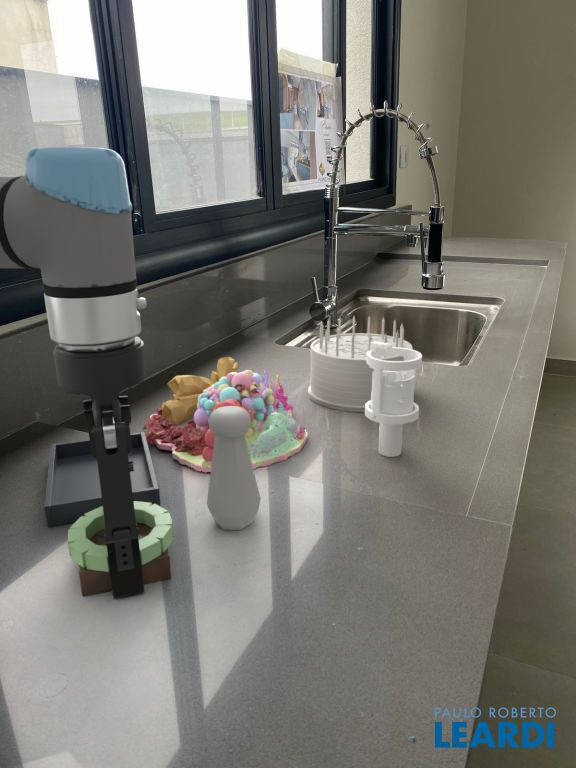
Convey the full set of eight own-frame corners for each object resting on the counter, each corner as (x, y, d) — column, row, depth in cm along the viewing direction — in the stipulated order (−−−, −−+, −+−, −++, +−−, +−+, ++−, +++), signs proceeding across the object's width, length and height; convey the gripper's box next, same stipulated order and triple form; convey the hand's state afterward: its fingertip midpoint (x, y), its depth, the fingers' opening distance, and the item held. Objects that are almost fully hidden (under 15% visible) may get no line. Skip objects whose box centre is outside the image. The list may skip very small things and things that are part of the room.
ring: (69, 580, 53) (66, 565, 52) (70, 524, 61) (68, 510, 61) (179, 559, 56) (178, 544, 55) (166, 508, 64) (164, 494, 64)
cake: (431, 390, 106) (436, 315, 101) (375, 420, 93) (378, 337, 88) (347, 371, 117) (348, 303, 112) (286, 396, 104) (285, 320, 100)
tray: (47, 527, 66) (44, 507, 65) (53, 461, 81) (51, 443, 80) (160, 507, 69) (159, 488, 68) (146, 448, 85) (144, 431, 84)
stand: (82, 596, 55) (68, 503, 51) (82, 548, 62) (69, 463, 59) (171, 578, 57) (163, 487, 54) (161, 533, 64) (153, 451, 61)
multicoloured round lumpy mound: (114, 433, 89) (107, 374, 86) (232, 393, 106) (230, 341, 103) (227, 488, 73) (223, 417, 70) (346, 430, 89) (347, 371, 86)
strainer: (384, 436, 87) (388, 335, 82) (426, 451, 82) (433, 345, 77) (353, 452, 82) (355, 346, 78) (395, 468, 78) (401, 356, 73)
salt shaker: (272, 519, 66) (269, 409, 62) (233, 541, 63) (227, 425, 58) (236, 501, 70) (231, 396, 66) (197, 521, 66) (189, 411, 62)
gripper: (157, 371, 43) (180, 627, 50) (132, 311, 63) (151, 500, 70) (45, 383, 41) (85, 649, 48) (56, 317, 61) (84, 511, 68)
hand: (125, 560), depth 59 cm, fingers closed on ring, 10 cm apart
